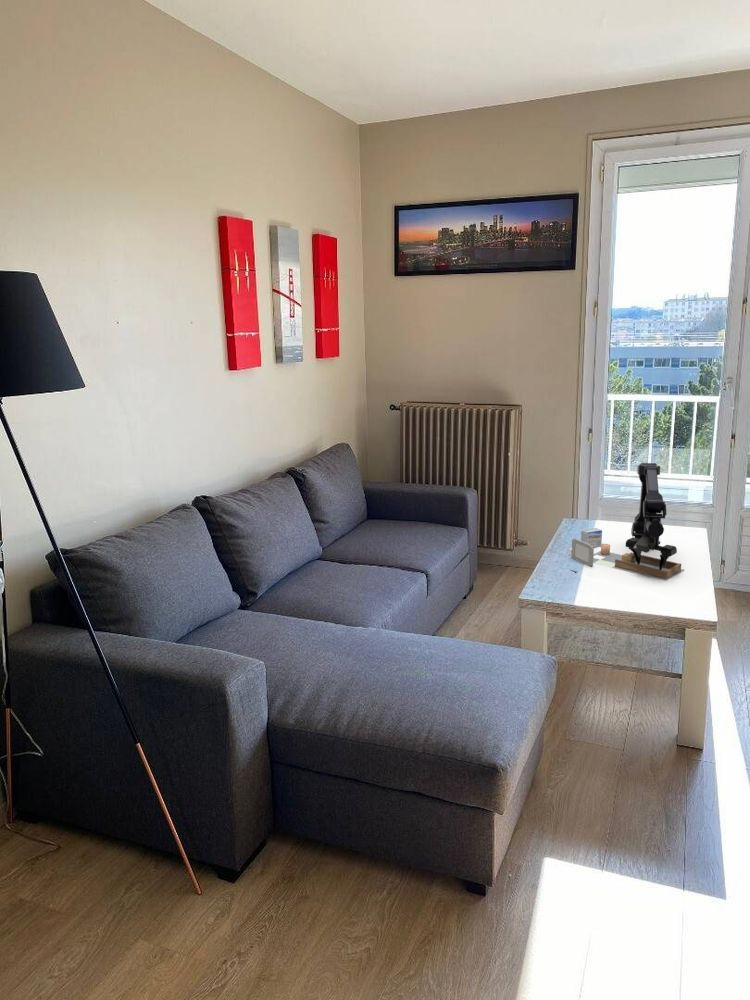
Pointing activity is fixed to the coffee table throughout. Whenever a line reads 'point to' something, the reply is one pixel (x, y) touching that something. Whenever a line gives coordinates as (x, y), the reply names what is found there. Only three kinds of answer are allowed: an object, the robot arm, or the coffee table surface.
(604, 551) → the peach dome
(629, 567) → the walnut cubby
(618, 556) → the slate board
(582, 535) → the medicine box
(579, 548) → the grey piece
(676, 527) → the coffee table surface
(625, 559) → the oak block
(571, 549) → the cream cube
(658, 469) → the robot arm
